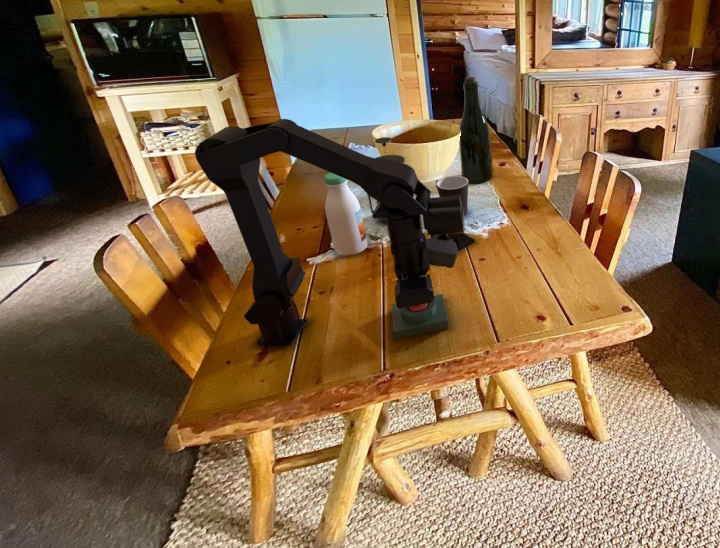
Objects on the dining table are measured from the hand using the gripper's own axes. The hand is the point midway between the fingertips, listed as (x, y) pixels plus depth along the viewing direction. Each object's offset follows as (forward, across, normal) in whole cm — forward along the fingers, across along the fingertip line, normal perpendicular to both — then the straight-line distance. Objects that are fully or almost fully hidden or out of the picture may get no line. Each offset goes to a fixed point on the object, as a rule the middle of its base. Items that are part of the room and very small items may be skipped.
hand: (417, 304), depth 84 cm
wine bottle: (+4, +64, -24) cm, 68 cm away
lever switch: (+4, +25, -8) cm, 26 cm away
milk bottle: (+4, +32, +14) cm, 35 cm away
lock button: (+2, 0, 0) cm, 2 cm away
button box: (+4, 0, 0) cm, 4 cm away
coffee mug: (+4, +42, -13) cm, 44 cm away
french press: (+4, +45, +4) cm, 45 cm away
